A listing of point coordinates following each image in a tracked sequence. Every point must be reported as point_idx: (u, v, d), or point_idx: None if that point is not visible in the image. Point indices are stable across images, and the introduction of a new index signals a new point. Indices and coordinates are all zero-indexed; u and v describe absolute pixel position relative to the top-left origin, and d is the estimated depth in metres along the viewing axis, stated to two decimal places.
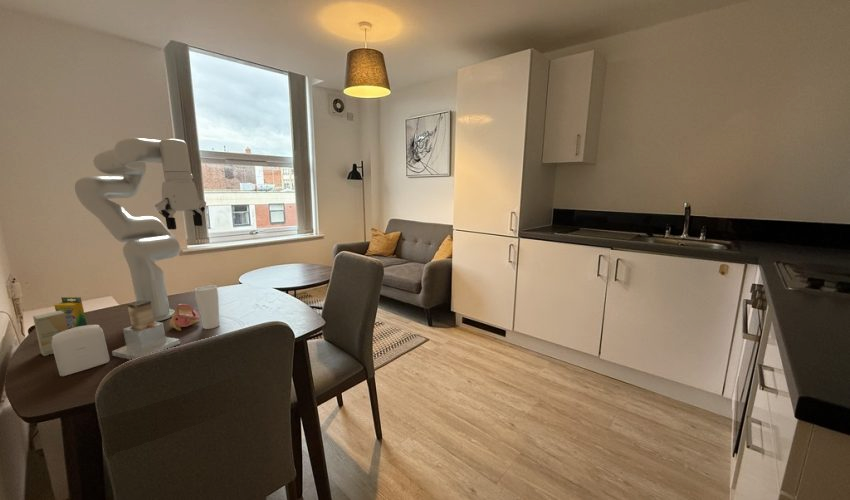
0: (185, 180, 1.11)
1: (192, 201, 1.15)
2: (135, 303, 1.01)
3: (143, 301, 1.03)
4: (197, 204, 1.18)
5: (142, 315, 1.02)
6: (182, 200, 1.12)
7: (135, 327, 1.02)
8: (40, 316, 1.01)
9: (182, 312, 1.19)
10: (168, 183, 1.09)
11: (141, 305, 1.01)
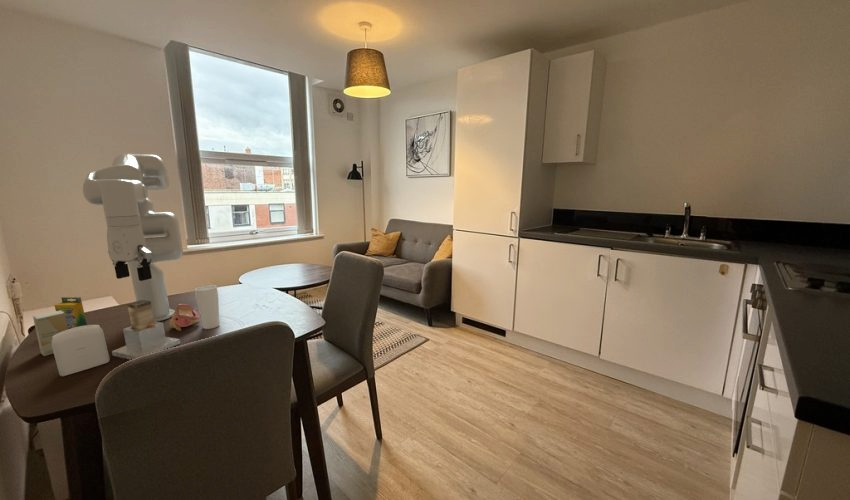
0: None
1: None
2: (135, 303, 1.01)
3: (143, 301, 1.03)
4: None
5: (142, 315, 1.02)
6: None
7: (135, 327, 1.02)
8: (40, 316, 1.01)
9: (182, 312, 1.19)
10: (139, 229, 0.97)
11: (141, 305, 1.01)
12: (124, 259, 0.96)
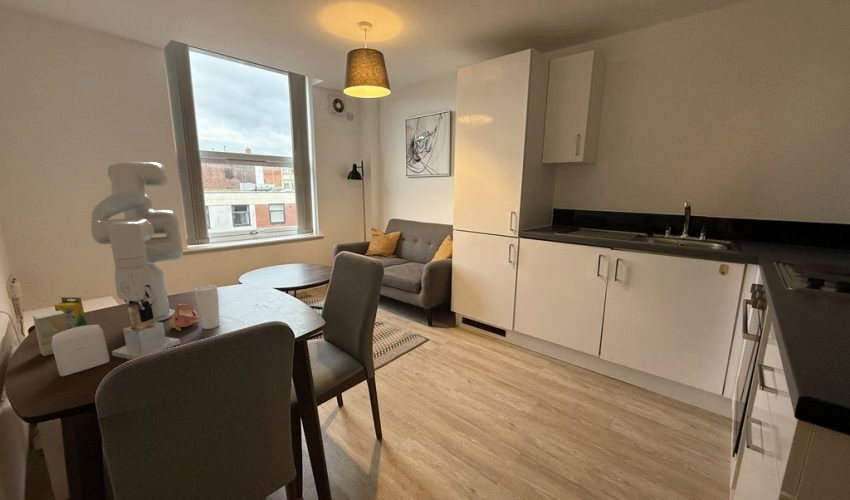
0: None
1: None
2: (135, 303, 1.01)
3: (143, 301, 1.03)
4: None
5: None
6: None
7: (135, 327, 1.02)
8: (40, 316, 1.01)
9: (182, 312, 1.19)
10: (146, 269, 1.00)
11: None
12: (132, 299, 0.99)
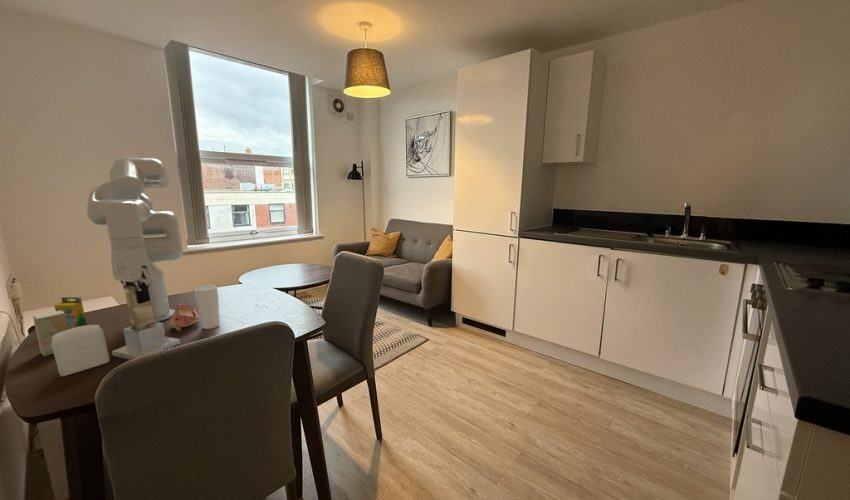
0: None
1: None
2: (131, 285, 1.00)
3: (140, 283, 1.02)
4: None
5: None
6: None
7: (132, 309, 1.01)
8: (40, 316, 1.01)
9: (182, 312, 1.19)
10: (142, 249, 0.98)
11: None
12: (128, 280, 0.97)
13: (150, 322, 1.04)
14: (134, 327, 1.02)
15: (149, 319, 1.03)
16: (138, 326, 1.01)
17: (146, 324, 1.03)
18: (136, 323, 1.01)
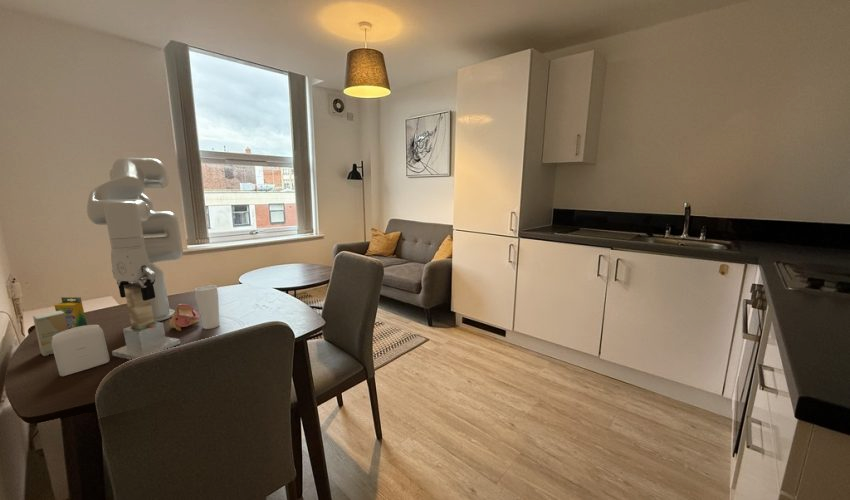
0: None
1: None
2: (131, 284, 1.00)
3: None
4: None
5: (139, 296, 1.00)
6: None
7: (131, 309, 1.01)
8: (40, 316, 1.01)
9: (182, 312, 1.19)
10: (142, 249, 0.98)
11: (138, 286, 1.00)
12: (128, 279, 0.97)
13: (150, 322, 1.04)
14: (134, 327, 1.02)
15: (149, 319, 1.03)
16: (138, 326, 1.01)
17: (146, 324, 1.03)
18: (136, 323, 1.01)
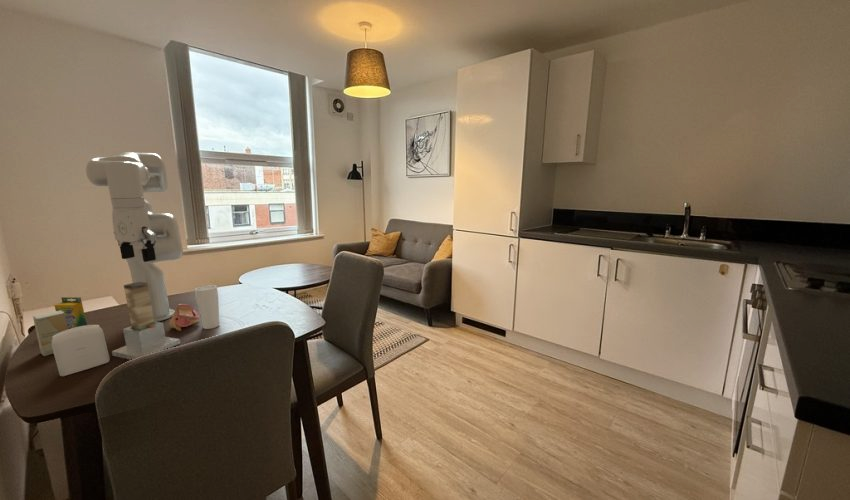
0: None
1: None
2: (131, 284, 1.00)
3: (140, 283, 1.02)
4: None
5: (139, 296, 1.00)
6: None
7: (131, 309, 1.01)
8: (40, 316, 1.01)
9: (182, 312, 1.19)
10: (143, 210, 0.99)
11: (138, 286, 1.00)
12: (129, 240, 0.98)
13: (150, 322, 1.04)
14: (134, 327, 1.02)
15: (149, 319, 1.03)
16: (138, 326, 1.01)
17: (146, 324, 1.03)
18: (136, 323, 1.01)
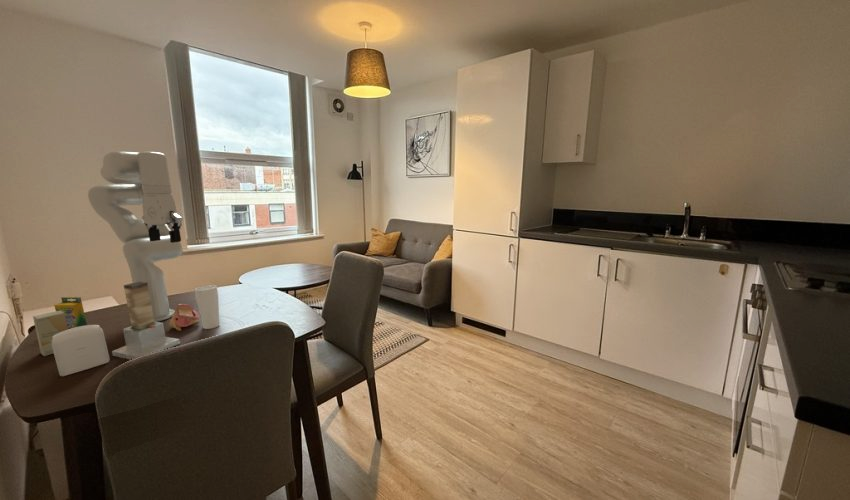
0: None
1: None
2: (131, 284, 1.00)
3: (140, 283, 1.02)
4: None
5: (139, 296, 1.00)
6: None
7: (131, 309, 1.01)
8: (40, 316, 1.01)
9: (182, 312, 1.19)
10: (170, 196, 1.10)
11: (138, 286, 1.00)
12: (158, 223, 1.09)
13: (150, 322, 1.04)
14: (134, 327, 1.02)
15: (149, 319, 1.03)
16: (138, 326, 1.01)
17: (146, 324, 1.03)
18: (136, 323, 1.01)
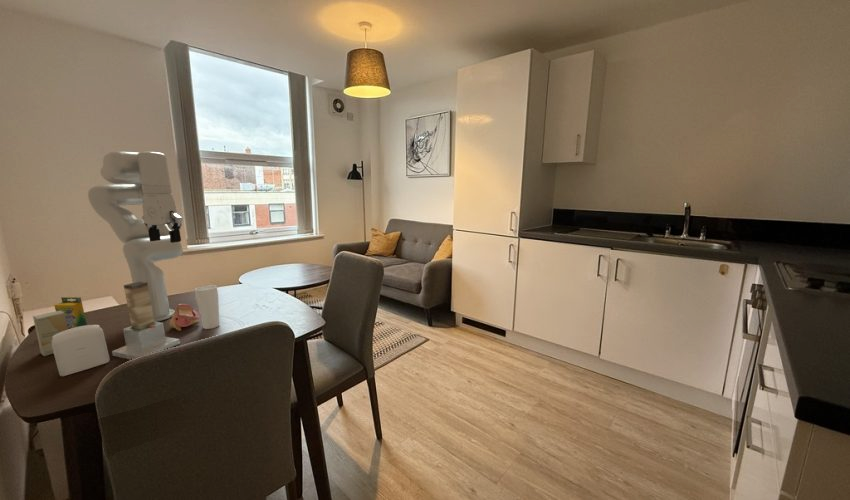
0: None
1: None
2: (131, 284, 1.00)
3: (140, 283, 1.02)
4: None
5: (139, 296, 1.00)
6: None
7: (131, 309, 1.01)
8: (40, 316, 1.01)
9: (182, 312, 1.19)
10: (170, 196, 1.10)
11: (138, 286, 1.00)
12: (158, 223, 1.09)
13: (150, 322, 1.04)
14: (134, 327, 1.02)
15: (149, 319, 1.03)
16: (138, 326, 1.01)
17: (146, 324, 1.03)
18: (136, 323, 1.01)
